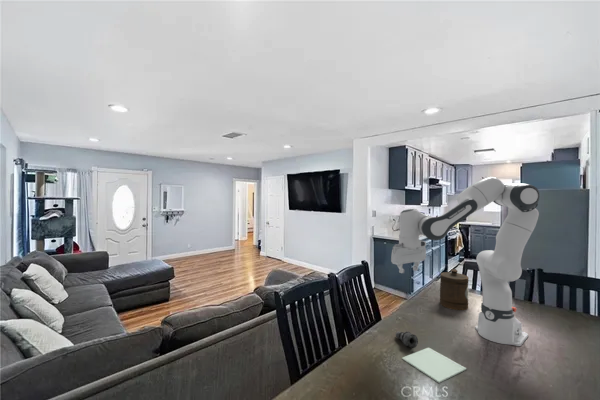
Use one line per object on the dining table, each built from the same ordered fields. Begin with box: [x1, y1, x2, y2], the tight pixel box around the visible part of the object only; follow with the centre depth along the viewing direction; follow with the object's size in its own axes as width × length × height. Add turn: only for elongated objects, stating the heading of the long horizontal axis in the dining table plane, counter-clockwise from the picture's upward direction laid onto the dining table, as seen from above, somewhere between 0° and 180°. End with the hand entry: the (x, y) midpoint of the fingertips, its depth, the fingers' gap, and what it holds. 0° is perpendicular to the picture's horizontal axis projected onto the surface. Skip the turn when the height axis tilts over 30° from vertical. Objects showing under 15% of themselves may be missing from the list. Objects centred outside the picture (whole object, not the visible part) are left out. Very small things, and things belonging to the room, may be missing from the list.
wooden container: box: [439, 268, 469, 311], centre depth 163 cm, size 15×15×22 cm
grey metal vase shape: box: [395, 331, 419, 349], centre depth 121 cm, size 6×6×12 cm
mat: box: [401, 347, 467, 384], centre depth 105 cm, size 16×16×1 cm
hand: (408, 271), depth 130 cm, fingers open, 8 cm apart
